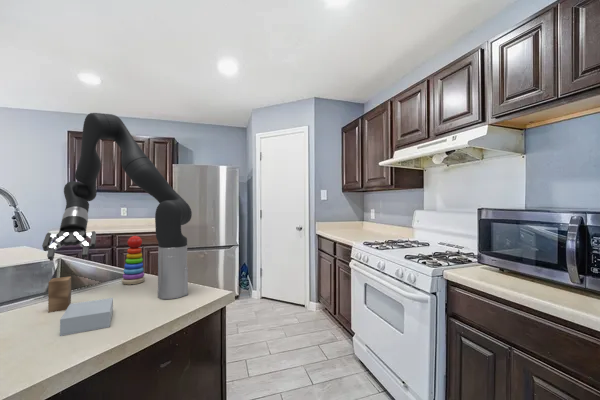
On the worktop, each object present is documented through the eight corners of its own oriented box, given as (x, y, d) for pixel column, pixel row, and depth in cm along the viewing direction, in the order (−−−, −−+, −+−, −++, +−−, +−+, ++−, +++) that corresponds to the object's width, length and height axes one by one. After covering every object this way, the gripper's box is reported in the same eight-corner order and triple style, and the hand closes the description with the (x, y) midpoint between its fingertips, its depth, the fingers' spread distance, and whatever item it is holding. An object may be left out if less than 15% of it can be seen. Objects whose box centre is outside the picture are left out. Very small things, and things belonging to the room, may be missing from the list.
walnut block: (70, 305, 88) (71, 276, 88) (67, 309, 84) (68, 280, 84) (52, 307, 86) (52, 278, 86) (48, 312, 82) (48, 282, 82)
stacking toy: (119, 286, 107) (120, 237, 107) (123, 280, 115) (124, 235, 115) (143, 284, 110) (143, 236, 111) (145, 278, 118) (146, 234, 118)
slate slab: (112, 311, 83) (113, 297, 83) (109, 326, 73) (109, 311, 73) (70, 317, 78) (70, 303, 78) (59, 335, 68) (60, 319, 68)
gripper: (47, 215, 98) (37, 253, 88) (97, 214, 105) (93, 249, 95) (51, 229, 102) (41, 266, 92) (99, 227, 110) (94, 262, 100)
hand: (67, 258), depth 94 cm, fingers open, 8 cm apart
